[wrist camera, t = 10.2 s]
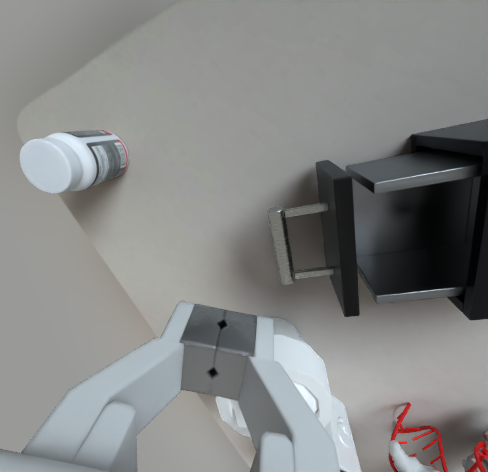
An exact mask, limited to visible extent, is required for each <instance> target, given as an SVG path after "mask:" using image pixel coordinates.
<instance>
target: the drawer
mask: <svg viewBox="0 0 488 472" xmlns="http://www.w3.org/2000/svg"><path fill="white" fill-rule="evenodd" d="M482 164H483V156H477V155H471V154H465V153H459V152H453V151H447V150H441V149H432V150H426V151H421V152H416V153H411V154H406V155H400V156H395V157H390V158H385V159H379V160H374V161H369V162H364V163H359V164H353V165H348V166H346V172H345V171H344V170H342V169H341V168H339V167H338V166H336V165H335V164H333V163H332V162H331V161H329V160H325V161H320V162H316V172H317V181H318V191H319V200H320V203H317V204H312V205H306V206H300V207H294V208H288V209H284V208H283V207H273V208H270V209H268V210H267V213H268V219H269V224H270V230H271V235H272V240H273V246H274V251H275V256H276V262H277V267H278V272H279V278H280V282H281V283H282V284H285V285H288V284H292V283H294V282H295V279H301V278H309V277H317V276H325V275H329V276H330V279H331V281H332V284H333V287H334V289H335V292H336V295H337V297H338V300H339V303H340V306H341V308H342V311H343V314H344V316H345V317H350V316H359V315H360V314H359V295H358V276H357V270H358V272H359V274H360V275H361V277H362V279H363V281H364V282H365V284H366V286H367V288H368V289H369V291H370V293H371V295H372V296H373V298H374V300H375V301H376V303H377V304H382V303H392V302H401V301H411V300H421V299H431V298H440V297H450V296H460V295H465V292H466V284H467V277H468V269H469V262H470V254H471V247H472V239H473V232H474V224H475V217H476V209H477V202H478V194H479V186H480V179H481V171H482ZM317 212H321V220H322V229H323V239H324V248H325V258H326V267H319V268H312V269H304V270H296V271H294V268H293V262H292V255H291V249H290V243H289V237H288V230H287V224H286V218H287V217H293V216H299V215H305V214H311V213H317ZM285 217H286V218H285Z"/></svg>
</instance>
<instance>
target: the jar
mask: <svg viewBox="0 0 488 472" xmlns="http://www.w3.org/2000/svg"><path fill="white" fill-rule="evenodd" d="M331 396H332V412H333V418H332V419H331V421H330V422H329V423H328V424H327V425H326V426H325V427H324V428H325V430H326V431H327V433H328V434H329V436H330V437H331V439H332V440H333V442H334V443H335V447H336V452H337V457H338V462H339V467H340V472H361V468H360V464H359V460H358V456H357V453H356V449H355V445H354V441H353V437H352V433H351V429H350V425H349V421H348V417H347V414H346V410H345V406H344V404H343V403H342V402H340V401H339V400H338V399H337V398H335V397H334V396H333V395H332V394H331Z"/></svg>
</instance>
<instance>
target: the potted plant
mask: <svg viewBox="0 0 488 472" xmlns="http://www.w3.org/2000/svg"><path fill="white" fill-rule="evenodd" d="M272 319H273V330H274V361H277V362H279V363H280V364H281V366H282V367H283V369H284V370H285V371H286V373H287V374H288V376H289V377H290V379H291V380H292V382H293V383H294V385H295V386H296V388H297V389H298V390H299V392H300V393H301V395H302V396H303V398H304V399H305V401H306V402H307V404H308V405H309V406H310V408H311V409H312V411H313V412H314V414H315V415H316V417H317V418H318V420H319V421H320V423H321V424H322V425H323V427H325V426H326V425H327V424H328V423H329V422H330V421H331V419H332V418H333V412H332V396H331V392H330V387H329V383H328V378H327V373H326V369H325V364H324V361H323V360H322V359H321V358H320V357H319V356H318V355H317V354H316V353H315V352H314V350H313V349H312V348H311V347H310V346H309V345H308V344H306V343H305V342H304V341H303V339H302V338H301V336H300V334H299V333H298V331H297V330H296V329H295V328H294V326H293V325H292V324H291V323H290V322H288V321H286V320H283V319H280V318H277V317H273V318H272ZM215 400H216V403H217V406H218V409H219V413H220V416H221V419H222V420H224V421H225V422H226V423H227V424H228V425H229V426H231V427H232V428H233V429H234V430H235V431H237V432H238V433H239V434H241V435H244V436H247V437H250V438H251V436H250V433H249V430H248V428H247V425H246V422H245V420H244V417H243V415H242V412H241V409H240V407H239V404H238V401H236V400H232V399H227V398H223V397H218V396H216V399H215Z"/></svg>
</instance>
